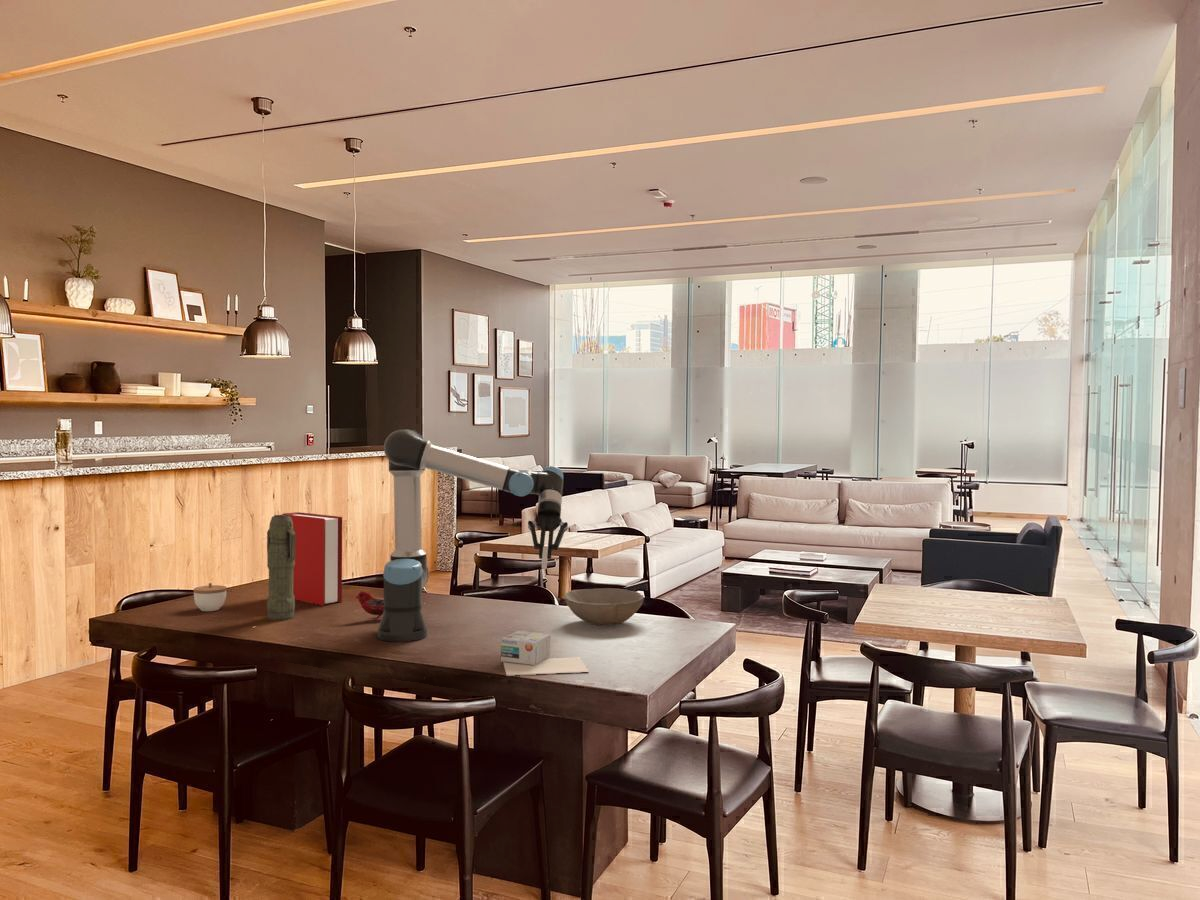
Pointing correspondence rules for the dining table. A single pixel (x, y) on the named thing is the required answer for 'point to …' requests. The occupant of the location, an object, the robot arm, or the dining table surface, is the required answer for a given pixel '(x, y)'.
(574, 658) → the mat
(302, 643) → the dining table surface
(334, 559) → the book
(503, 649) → the light bulb box
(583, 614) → the bowl
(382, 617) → the robot arm
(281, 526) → the stone statue
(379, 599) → the decorative bird figurine
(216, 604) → the lidded jar
